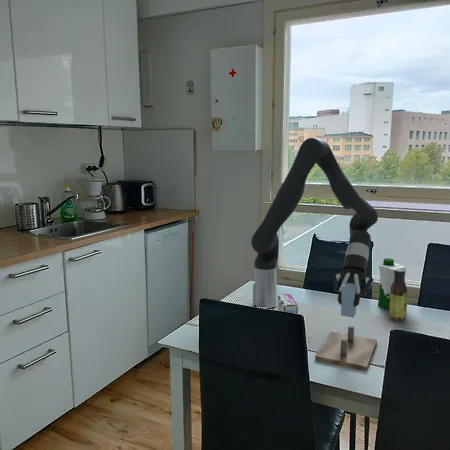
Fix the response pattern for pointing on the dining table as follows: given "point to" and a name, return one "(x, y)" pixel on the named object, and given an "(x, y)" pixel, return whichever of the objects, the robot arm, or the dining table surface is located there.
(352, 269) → the robot arm
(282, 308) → the candy bar box
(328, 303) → the dining table surface
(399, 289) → the sauce bottle
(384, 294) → the milk carton
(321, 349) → the wooden peg board
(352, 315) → the block
